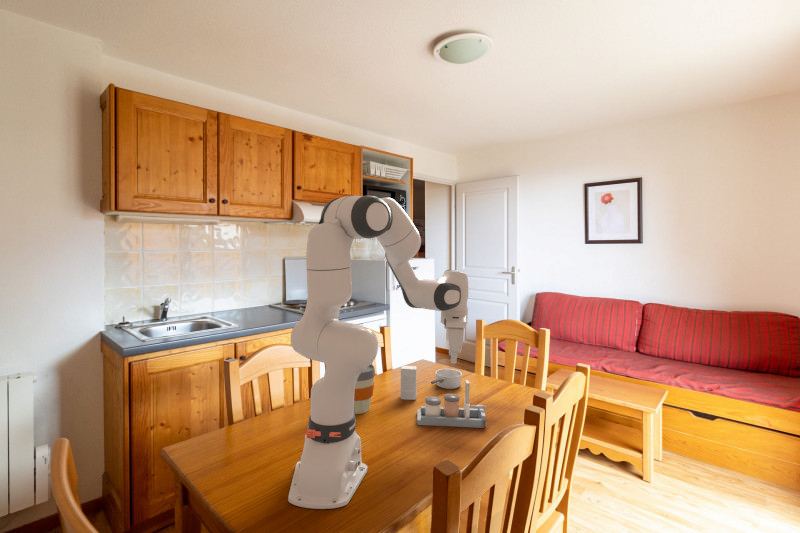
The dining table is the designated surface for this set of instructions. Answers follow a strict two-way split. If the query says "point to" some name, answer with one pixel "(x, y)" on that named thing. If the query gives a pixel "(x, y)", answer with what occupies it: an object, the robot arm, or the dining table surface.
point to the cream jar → (432, 406)
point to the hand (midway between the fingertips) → (452, 359)
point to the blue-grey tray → (453, 419)
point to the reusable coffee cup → (364, 390)
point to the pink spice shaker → (451, 405)
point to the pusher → (466, 401)
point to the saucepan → (448, 378)
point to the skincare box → (408, 382)
